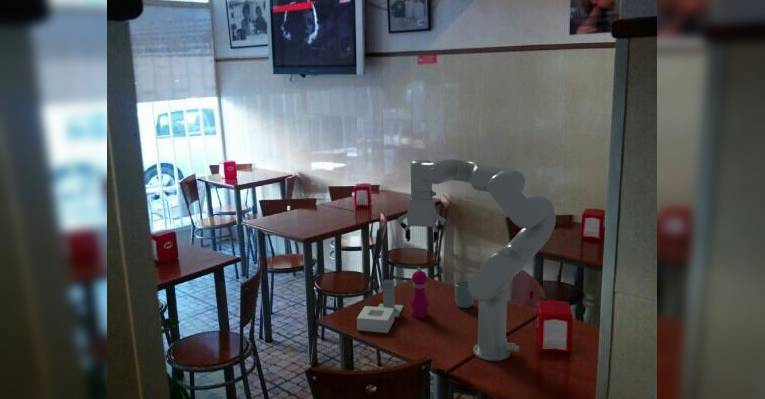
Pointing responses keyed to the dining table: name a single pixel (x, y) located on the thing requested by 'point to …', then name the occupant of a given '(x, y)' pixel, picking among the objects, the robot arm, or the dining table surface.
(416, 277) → the pepper mill
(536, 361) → the dining table surface
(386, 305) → the steel pin
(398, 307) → the white square plate
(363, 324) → the socket block
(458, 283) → the cup
